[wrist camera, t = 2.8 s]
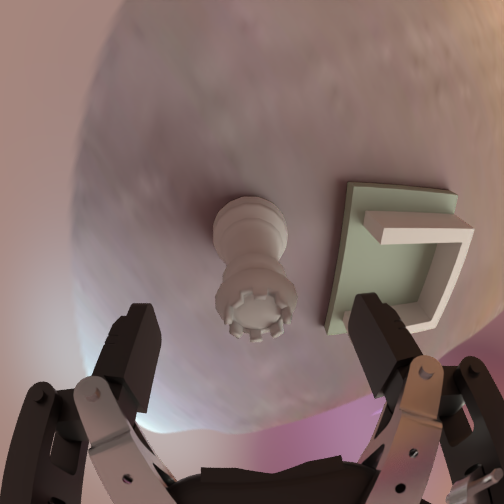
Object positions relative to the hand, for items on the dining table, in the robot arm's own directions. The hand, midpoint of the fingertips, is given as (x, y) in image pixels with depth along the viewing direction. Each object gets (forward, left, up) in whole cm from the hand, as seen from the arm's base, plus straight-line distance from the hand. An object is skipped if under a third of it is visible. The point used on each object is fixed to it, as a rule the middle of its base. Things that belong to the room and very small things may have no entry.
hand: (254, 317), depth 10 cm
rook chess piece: (0, 0, -8) cm, 8 cm away
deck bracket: (+3, +11, -8) cm, 13 cm away
